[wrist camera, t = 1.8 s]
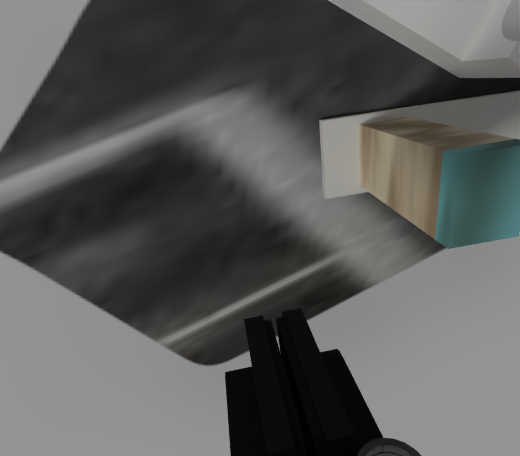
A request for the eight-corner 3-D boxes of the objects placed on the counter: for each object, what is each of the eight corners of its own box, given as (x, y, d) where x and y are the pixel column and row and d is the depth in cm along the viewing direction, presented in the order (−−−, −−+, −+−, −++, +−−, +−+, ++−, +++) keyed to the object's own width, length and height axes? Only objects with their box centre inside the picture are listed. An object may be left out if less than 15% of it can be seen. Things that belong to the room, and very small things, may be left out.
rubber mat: (543, 86, 29) (549, 87, 28) (528, 163, 32) (534, 164, 31) (319, 120, 28) (321, 120, 27) (323, 196, 30) (325, 198, 30)
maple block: (407, 117, 28) (536, 142, 17) (405, 178, 30) (518, 236, 19) (359, 124, 28) (458, 155, 17) (359, 185, 30) (448, 248, 19)
